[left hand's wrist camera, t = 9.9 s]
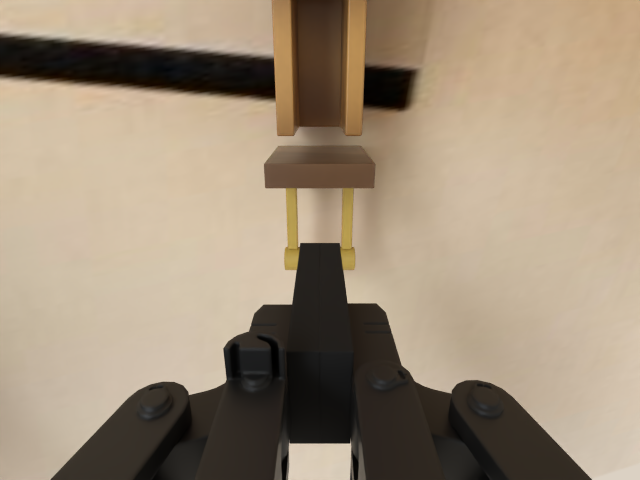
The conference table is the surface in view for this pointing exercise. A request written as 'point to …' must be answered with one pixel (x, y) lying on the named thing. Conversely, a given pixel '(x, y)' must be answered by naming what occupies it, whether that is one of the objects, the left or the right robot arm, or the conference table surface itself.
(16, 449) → the conference table surface
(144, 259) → the conference table surface
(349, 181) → the drawer
